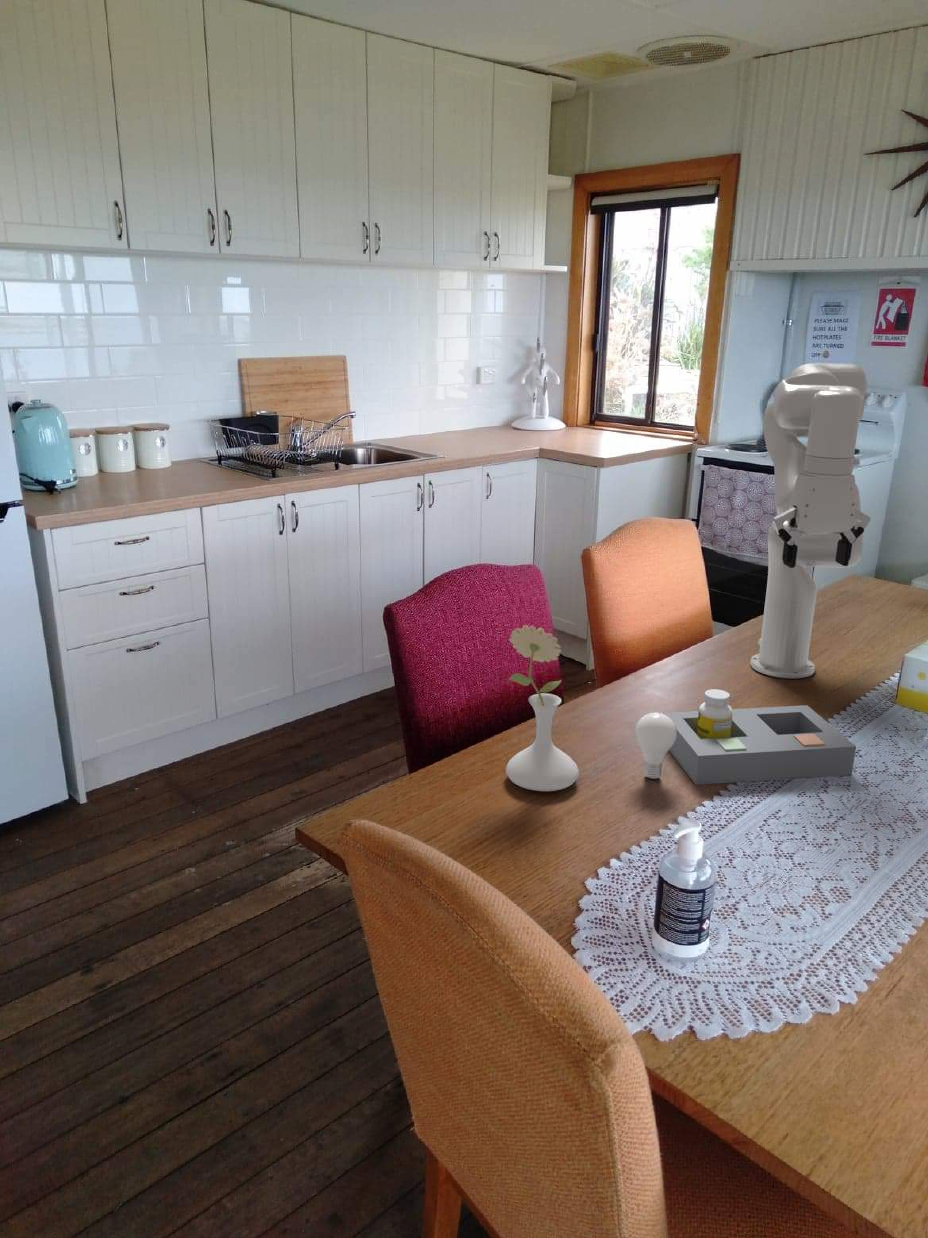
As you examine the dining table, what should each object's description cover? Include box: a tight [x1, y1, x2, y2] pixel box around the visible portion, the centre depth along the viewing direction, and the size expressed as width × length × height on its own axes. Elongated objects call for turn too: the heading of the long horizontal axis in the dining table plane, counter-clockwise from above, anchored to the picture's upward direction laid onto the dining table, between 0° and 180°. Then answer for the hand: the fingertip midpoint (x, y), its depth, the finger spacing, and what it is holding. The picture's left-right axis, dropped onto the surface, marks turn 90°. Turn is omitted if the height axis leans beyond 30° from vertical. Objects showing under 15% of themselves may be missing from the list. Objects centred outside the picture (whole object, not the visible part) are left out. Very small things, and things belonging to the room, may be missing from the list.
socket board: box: [662, 704, 857, 786], centre depth 153 cm, size 16×26×5 cm, turn 98°
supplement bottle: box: [697, 688, 733, 739], centre depth 152 cm, size 5×5×10 cm
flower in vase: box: [505, 624, 580, 792], centre depth 142 cm, size 13×11×25 cm
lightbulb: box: [634, 711, 677, 780], centre depth 145 cm, size 6×6×11 cm
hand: (815, 564), depth 160 cm, fingers open, 9 cm apart
